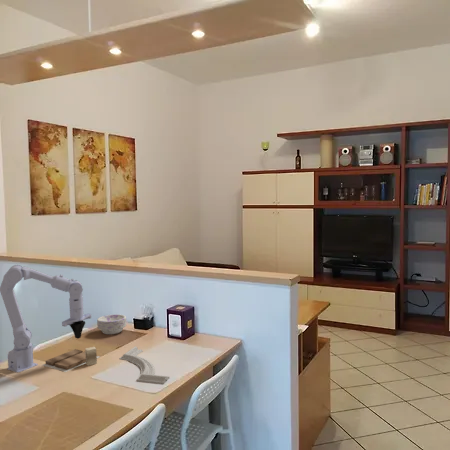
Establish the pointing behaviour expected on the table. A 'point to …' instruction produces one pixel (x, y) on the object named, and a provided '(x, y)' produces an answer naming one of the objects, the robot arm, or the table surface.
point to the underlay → (64, 369)
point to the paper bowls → (111, 323)
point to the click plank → (72, 361)
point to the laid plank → (62, 357)
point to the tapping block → (91, 356)
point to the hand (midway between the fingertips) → (78, 337)
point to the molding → (144, 367)
